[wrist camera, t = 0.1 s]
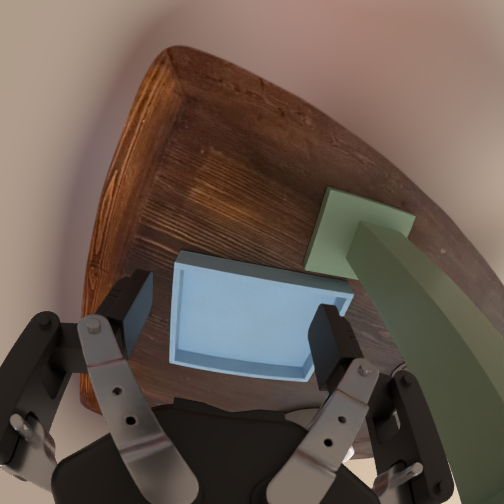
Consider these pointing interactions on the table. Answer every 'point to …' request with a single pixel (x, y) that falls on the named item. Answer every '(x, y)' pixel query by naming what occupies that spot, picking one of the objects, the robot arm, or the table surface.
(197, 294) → the tray
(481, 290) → the table surface
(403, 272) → the stand
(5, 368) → the robot arm
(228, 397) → the table surface
